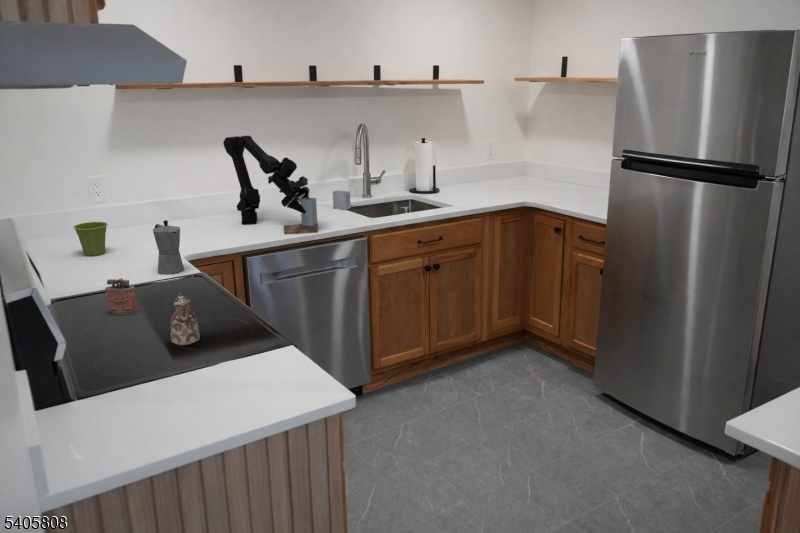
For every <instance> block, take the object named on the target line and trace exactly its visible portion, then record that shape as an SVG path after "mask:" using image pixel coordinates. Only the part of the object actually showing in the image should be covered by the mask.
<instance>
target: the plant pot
mask: <svg viewBox="0 0 800 533" xmlns="http://www.w3.org/2000/svg"><path fill="white" fill-rule="evenodd" d="M107 226H108V223H107V222H106V221H91V222H90V221H88V222H82V223H78V224H75V225H73V226H72V227H73V230H75V232H76V235H77V237H78V240H79V242H80V245H81V248H82V251H83V255H84V256H87V257H90V256H94V257H97V256H101V255H103V254H104V253H105V252H106V232H107Z"/></svg>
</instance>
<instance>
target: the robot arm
mask: <svg viewBox="0 0 800 533" xmlns="http://www.w3.org/2000/svg"><path fill="white" fill-rule="evenodd" d="M222 143H223V146H224V149H225V152H226V153H227V154H228V156H230V157H231V160H232V163H233V166H234V170H235V173H236V176H237V180H238V184H239V186H240V190H239V191H240V192H239V201H238V203H237V205H236V209H237V211H238V212H240V214H241V215H240V216H241V225H254V224H257V222H258V212H257V211H256V210H257V209H258V210H259V207H260V202H261V195H260V193H259V189H258V188H255V187H254V186H253V184H252V181H251V178H250V175H249V172H248V168H247V165H246V161H245V158H244V153H245V150H247V152H249V154H250V155H251V156H252V157H254V159H256V161H257V162H258V166H259V167H260V169H261V171H262V172H263V173H264V174H265V175H268V174H272V175H269V176H268V181H267V182H268V184H272V183H273V184H274V185H275V186H276V187H277V188H278V189H279V192H280V193H283V195H284V197H283V198H282V199H281V202H280V203H281V205H282V206H283V207H284V208H285V207H286V208H289V209H290V210H295V211H297V212H298V213H300V214H301V213H304V214H305V213H306V211H305V210H304V208H303V207H302V206H301V199H303V198H310V190H311V189H310V188H309V187H308V186H307V185H309V182H308V180H309V179H308V178H307V177H305V176H304V175H302V176H300V177H299V178H298V180H296V181H294V180H290V179H289V178H290V177H291V176H292V175H293V174H294V172H295V171H296V170H297V168H298V166H297V163H296V162H295V161H294V160H291V159H289V158H288V157H283V158H282V160H281V161H279V159H277V158H276V157H274V156H272V155H269V154H268V153H267V152H265V151H264V150H263V149H262V147H260V145H259V144H257V143H256V141H255V140H254V139H253V137H252V136H251V135H248V134H247V135H241V136H239V135H238V136H237V135H236V136H227V137H226V138H224V139H223V142H222Z"/></svg>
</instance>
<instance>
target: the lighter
mask: <svg viewBox="0 0 800 533" xmlns="http://www.w3.org/2000/svg"><path fill="white" fill-rule="evenodd" d="M106 285H110V286H106V287H105V288H104V290H105V293H106V299H107V305H108V306H107V307H108V309H107V311H108V314H109V313H113V314H112V315H129V314H136V313H137V312H138V307H137V303H136V302H137V301H136V297H135V296H136V295H135V286H134V285H130V279H123V278H122V277H121V278H118V279H116V278H115V279H112V278H110V279H107V280H106Z"/></svg>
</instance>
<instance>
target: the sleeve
mask: <svg viewBox="0 0 800 533" xmlns="http://www.w3.org/2000/svg"><path fill="white" fill-rule="evenodd" d="M300 204H301V206H302V207H303V208H304V210H305V211H306V213H305V214H304V213H301V212H300V214H301V215H300V216H301V217H300V218H301V224H302V225H301V226H302V230H315V229H317V230H318V228H319V224H318V213H317V212H318V208H317V197H309V198H303V199H301V202H300Z"/></svg>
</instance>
